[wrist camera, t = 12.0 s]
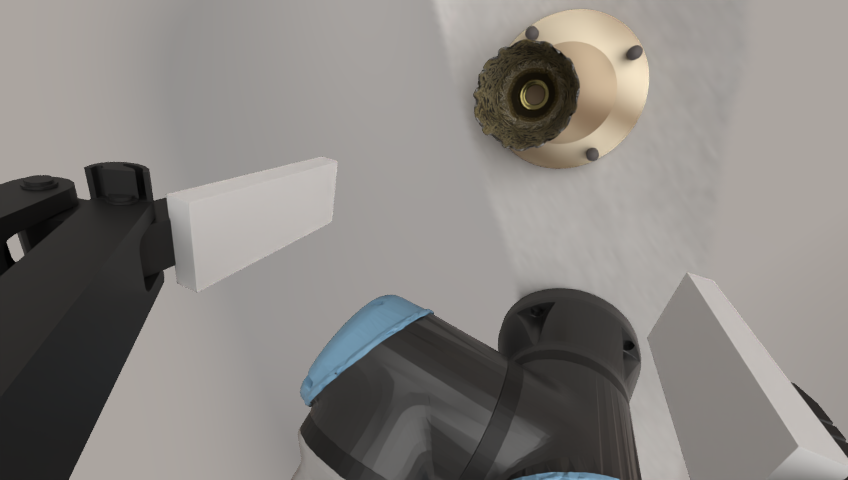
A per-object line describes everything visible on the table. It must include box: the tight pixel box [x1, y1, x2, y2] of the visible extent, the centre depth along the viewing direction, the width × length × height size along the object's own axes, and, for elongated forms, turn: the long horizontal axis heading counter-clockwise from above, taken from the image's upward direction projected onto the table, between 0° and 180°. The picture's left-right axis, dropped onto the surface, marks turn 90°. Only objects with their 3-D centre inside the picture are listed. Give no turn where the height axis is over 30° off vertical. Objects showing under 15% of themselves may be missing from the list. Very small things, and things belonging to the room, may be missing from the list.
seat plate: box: [509, 9, 649, 169], centre depth 32 cm, size 13×13×3 cm
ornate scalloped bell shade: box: [473, 39, 580, 151], centre depth 29 cm, size 8×7×8 cm
